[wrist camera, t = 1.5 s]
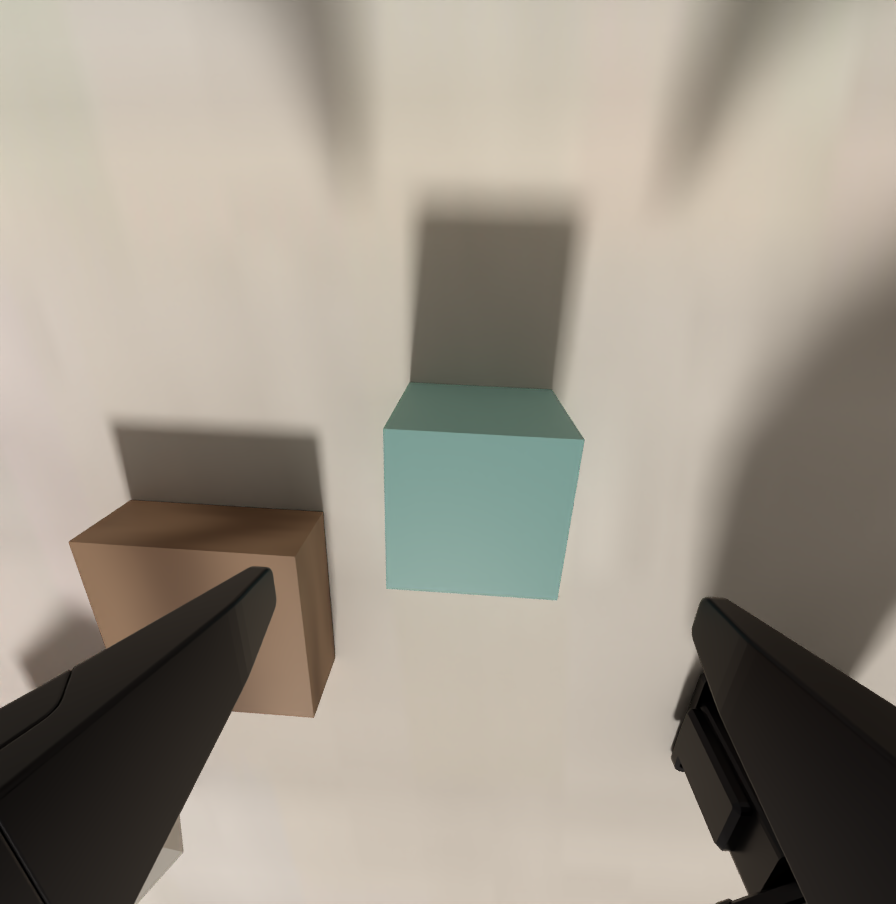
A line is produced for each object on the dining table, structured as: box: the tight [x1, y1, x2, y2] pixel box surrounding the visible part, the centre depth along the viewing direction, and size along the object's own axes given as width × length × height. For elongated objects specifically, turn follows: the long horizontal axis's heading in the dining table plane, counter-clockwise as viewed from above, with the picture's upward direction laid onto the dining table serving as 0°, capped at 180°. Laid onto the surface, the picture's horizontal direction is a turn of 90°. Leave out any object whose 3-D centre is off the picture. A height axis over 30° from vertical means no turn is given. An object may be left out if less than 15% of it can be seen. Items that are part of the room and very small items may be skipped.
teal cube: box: [383, 382, 584, 600], centre depth 14 cm, size 5×5×5 cm
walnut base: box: [69, 500, 335, 718], centre depth 18 cm, size 8×8×3 cm
